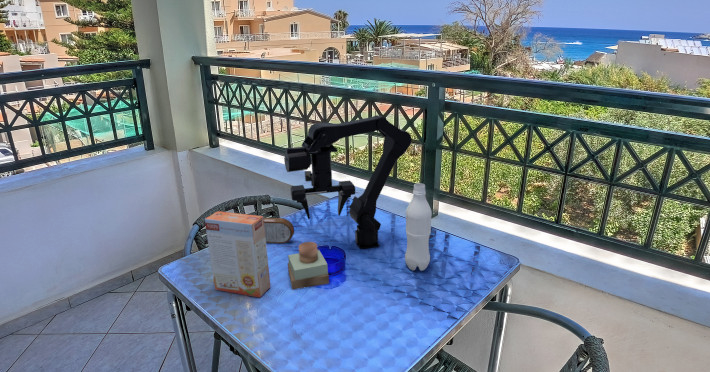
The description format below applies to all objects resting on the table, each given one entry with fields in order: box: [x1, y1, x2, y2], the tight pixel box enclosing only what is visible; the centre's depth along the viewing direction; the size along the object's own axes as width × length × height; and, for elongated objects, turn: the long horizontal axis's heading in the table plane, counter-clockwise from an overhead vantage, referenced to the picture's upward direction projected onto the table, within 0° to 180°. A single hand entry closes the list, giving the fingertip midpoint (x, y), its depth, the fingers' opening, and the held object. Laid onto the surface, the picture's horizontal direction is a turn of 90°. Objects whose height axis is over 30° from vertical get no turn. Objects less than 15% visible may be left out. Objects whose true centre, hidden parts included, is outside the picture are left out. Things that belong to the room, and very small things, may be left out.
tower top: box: [287, 249, 329, 280], centre depth 116 cm, size 9×9×3 cm
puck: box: [298, 241, 318, 263], centre depth 115 cm, size 5×5×4 cm
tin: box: [263, 217, 295, 245], centre depth 137 cm, size 15×3×8 cm, turn 84°
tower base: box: [287, 262, 330, 291], centre depth 117 cm, size 10×10×3 cm
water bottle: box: [404, 182, 433, 272], centre depth 117 cm, size 7×7×25 cm
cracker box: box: [204, 210, 271, 298], centre depth 109 cm, size 14×6×21 cm, turn 71°
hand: (324, 216), depth 127 cm, fingers open, 9 cm apart
